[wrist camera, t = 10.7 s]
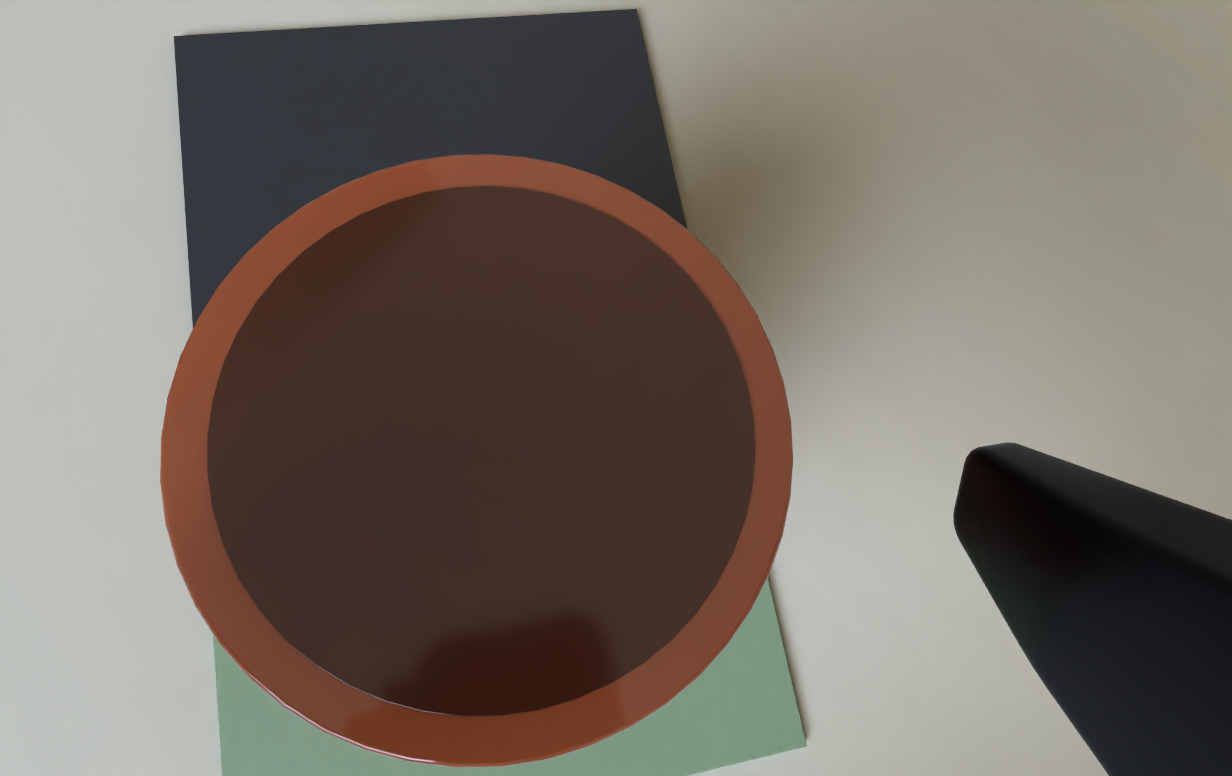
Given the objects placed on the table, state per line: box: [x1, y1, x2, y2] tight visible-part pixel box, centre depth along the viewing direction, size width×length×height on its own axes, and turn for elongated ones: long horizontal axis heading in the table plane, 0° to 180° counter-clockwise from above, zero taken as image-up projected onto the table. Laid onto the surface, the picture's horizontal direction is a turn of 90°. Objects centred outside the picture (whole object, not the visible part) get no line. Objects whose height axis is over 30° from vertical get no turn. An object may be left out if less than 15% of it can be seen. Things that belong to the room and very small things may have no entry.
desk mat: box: [174, 9, 806, 776], centre depth 21 cm, size 21×13×1 cm, turn 11°
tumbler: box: [160, 154, 793, 768], centre depth 14 cm, size 7×7×11 cm
